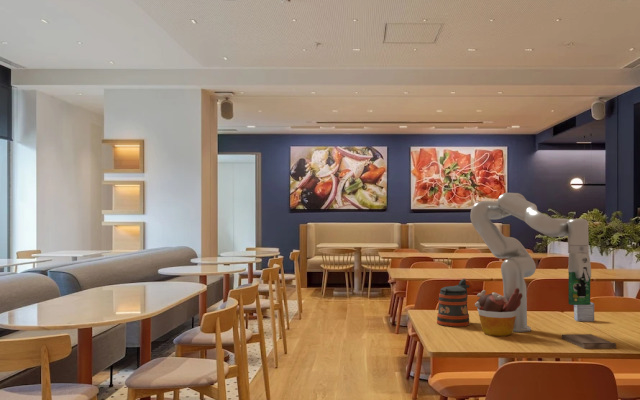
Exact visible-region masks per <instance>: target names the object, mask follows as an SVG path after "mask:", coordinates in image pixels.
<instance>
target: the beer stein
mask: <svg viewBox="0 0 640 400" xmlns="http://www.w3.org/2000/svg"><path fill="white" fill-rule="evenodd" d="M469 288H470V285H469V284H467V282H466V278H462V279H461V280H459V283H458V284H457V285H454V286H452V285H449V286H444V287H442V288H440V292H439V294H438V313H437V315H436V323H437V324H438V325H439V326H443V327H444V326H445V327H456V328H457V327H458V328H460V327H467V326H469V325H470V313H469V311H468V289H469Z"/></svg>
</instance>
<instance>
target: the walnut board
mask: <svg viewBox="0 0 640 400" xmlns="http://www.w3.org/2000/svg"><path fill="white" fill-rule="evenodd" d="M561 339H562V340H564V341H566V342H568V343H571V344H573V345H576V346H577V347H580V348H582V349H590V350H591V349H595V350H596V349H617V343H616V342H615V341H614V342H612V341H609V340H608V339H607V340H606V339H604V338H601V337H600V336H597V335H594V334H591V333H584V334H583V333H579V334H578V333H577V334H568V333H567V334H561Z"/></svg>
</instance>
